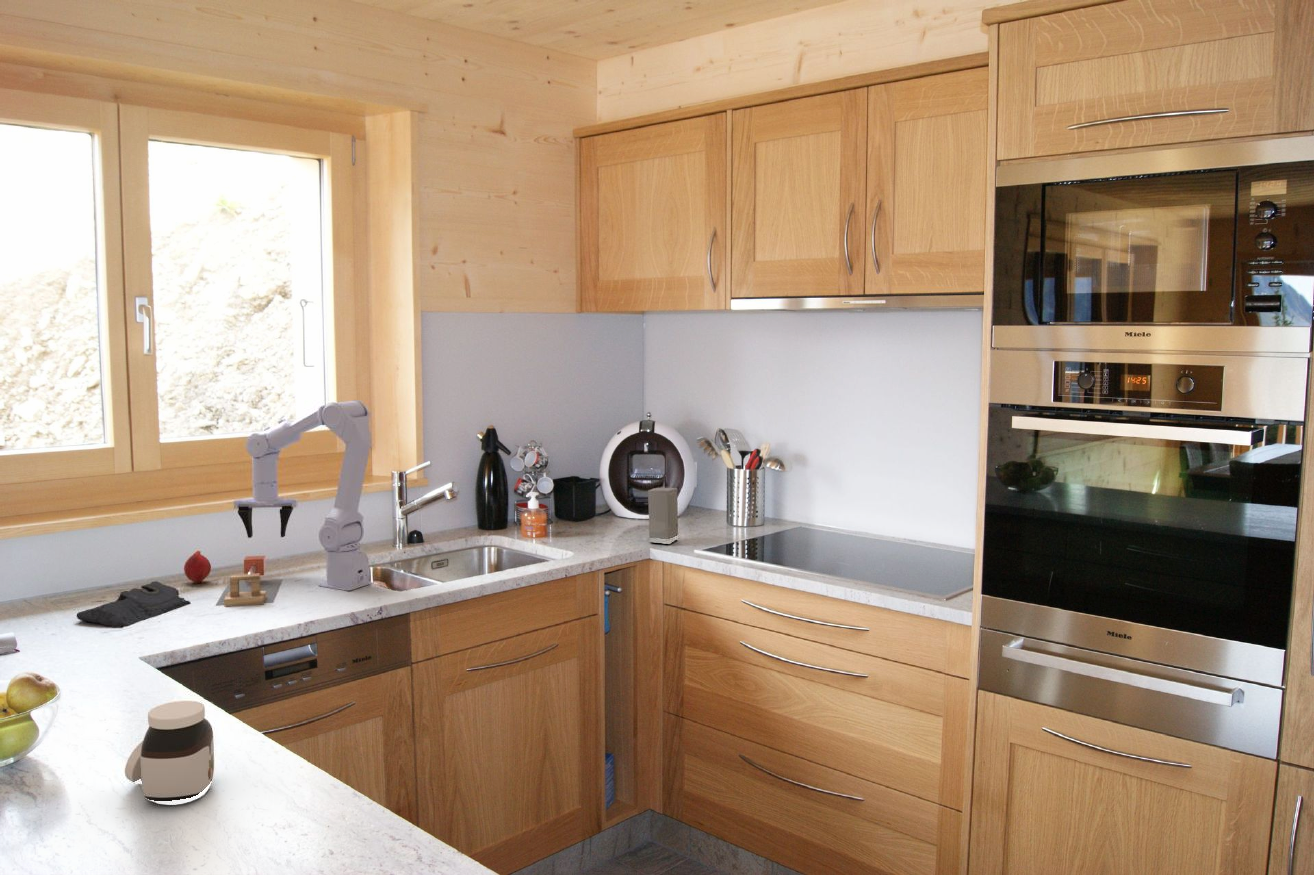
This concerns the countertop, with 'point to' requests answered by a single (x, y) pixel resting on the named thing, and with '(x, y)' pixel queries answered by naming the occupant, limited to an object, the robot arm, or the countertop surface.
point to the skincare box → (663, 513)
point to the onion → (197, 567)
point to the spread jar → (174, 752)
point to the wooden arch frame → (245, 597)
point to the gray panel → (265, 585)
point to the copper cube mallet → (254, 566)
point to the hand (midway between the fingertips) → (266, 536)
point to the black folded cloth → (135, 606)
